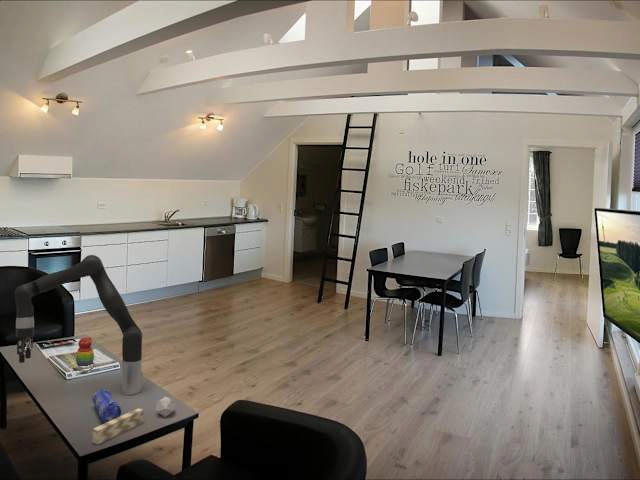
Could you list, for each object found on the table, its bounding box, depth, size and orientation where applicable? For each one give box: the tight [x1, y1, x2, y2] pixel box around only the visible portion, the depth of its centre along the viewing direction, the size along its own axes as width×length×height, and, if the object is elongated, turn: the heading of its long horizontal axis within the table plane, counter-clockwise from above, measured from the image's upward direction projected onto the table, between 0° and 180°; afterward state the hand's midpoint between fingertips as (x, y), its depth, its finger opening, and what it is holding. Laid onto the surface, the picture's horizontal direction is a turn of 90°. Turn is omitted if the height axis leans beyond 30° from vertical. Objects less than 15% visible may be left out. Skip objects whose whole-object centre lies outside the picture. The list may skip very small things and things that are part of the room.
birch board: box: [92, 407, 144, 445], centre depth 223 cm, size 24×3×6 cm, turn 151°
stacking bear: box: [75, 336, 95, 366], centre depth 289 cm, size 11×10×18 cm
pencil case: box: [91, 389, 122, 424], centre depth 237 cm, size 22×9×10 cm, turn 35°
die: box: [155, 396, 175, 418], centre depth 241 cm, size 8×9×10 cm
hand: (25, 360), depth 243 cm, fingers open, 8 cm apart
